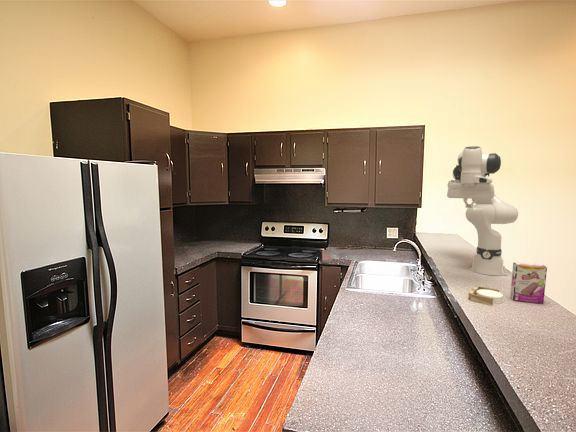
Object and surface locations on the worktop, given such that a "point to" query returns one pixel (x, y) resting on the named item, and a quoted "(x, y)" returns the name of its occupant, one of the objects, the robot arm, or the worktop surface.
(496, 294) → the coaster
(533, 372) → the worktop surface
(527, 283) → the candy bar box
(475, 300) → the holder
